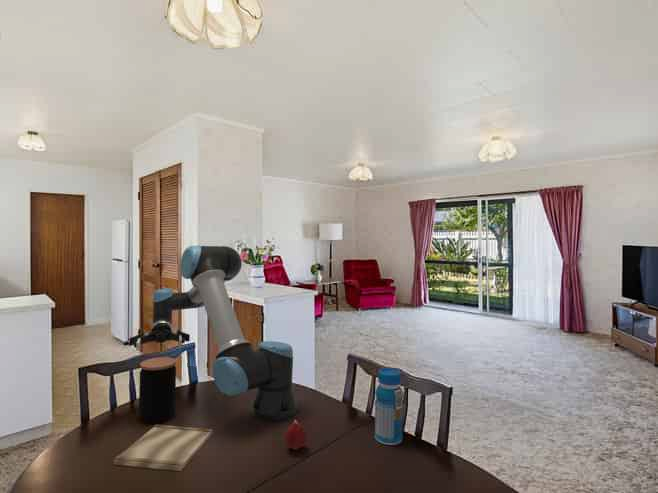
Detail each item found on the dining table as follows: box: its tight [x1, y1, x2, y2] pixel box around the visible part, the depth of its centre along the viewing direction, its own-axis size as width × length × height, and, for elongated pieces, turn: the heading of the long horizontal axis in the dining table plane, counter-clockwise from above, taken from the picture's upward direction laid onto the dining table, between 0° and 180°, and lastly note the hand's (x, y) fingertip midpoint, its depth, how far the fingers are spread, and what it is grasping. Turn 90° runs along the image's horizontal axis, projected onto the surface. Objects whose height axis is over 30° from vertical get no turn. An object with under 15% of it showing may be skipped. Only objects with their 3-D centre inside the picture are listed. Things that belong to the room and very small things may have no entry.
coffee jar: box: [138, 356, 177, 425], centre depth 117 cm, size 11×11×18 cm
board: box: [113, 424, 214, 472], centre depth 99 cm, size 18×18×2 cm
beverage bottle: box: [374, 367, 405, 446], centre depth 107 cm, size 8×8×20 cm
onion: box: [284, 419, 307, 451], centre depth 100 cm, size 6×6×8 cm
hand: (159, 345), depth 126 cm, fingers open, 13 cm apart
